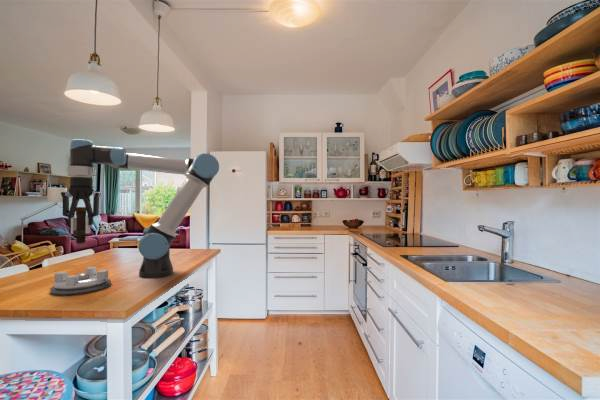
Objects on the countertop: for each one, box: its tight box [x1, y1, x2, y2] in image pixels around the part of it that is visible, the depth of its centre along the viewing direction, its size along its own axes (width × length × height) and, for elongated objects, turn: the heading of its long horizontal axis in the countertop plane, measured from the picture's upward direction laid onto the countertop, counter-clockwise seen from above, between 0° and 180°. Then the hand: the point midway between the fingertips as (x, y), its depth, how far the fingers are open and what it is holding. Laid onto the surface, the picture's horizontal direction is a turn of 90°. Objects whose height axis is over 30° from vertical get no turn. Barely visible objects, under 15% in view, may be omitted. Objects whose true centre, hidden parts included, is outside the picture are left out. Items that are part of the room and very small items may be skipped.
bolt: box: [72, 206, 89, 245], centre depth 118 cm, size 6×5×15 cm
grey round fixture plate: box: [52, 266, 109, 291], centre depth 118 cm, size 18×18×5 cm
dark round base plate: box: [49, 278, 112, 297], centre depth 118 cm, size 20×20×2 cm
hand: (80, 233), depth 118 cm, fingers closed on bolt, 4 cm apart
